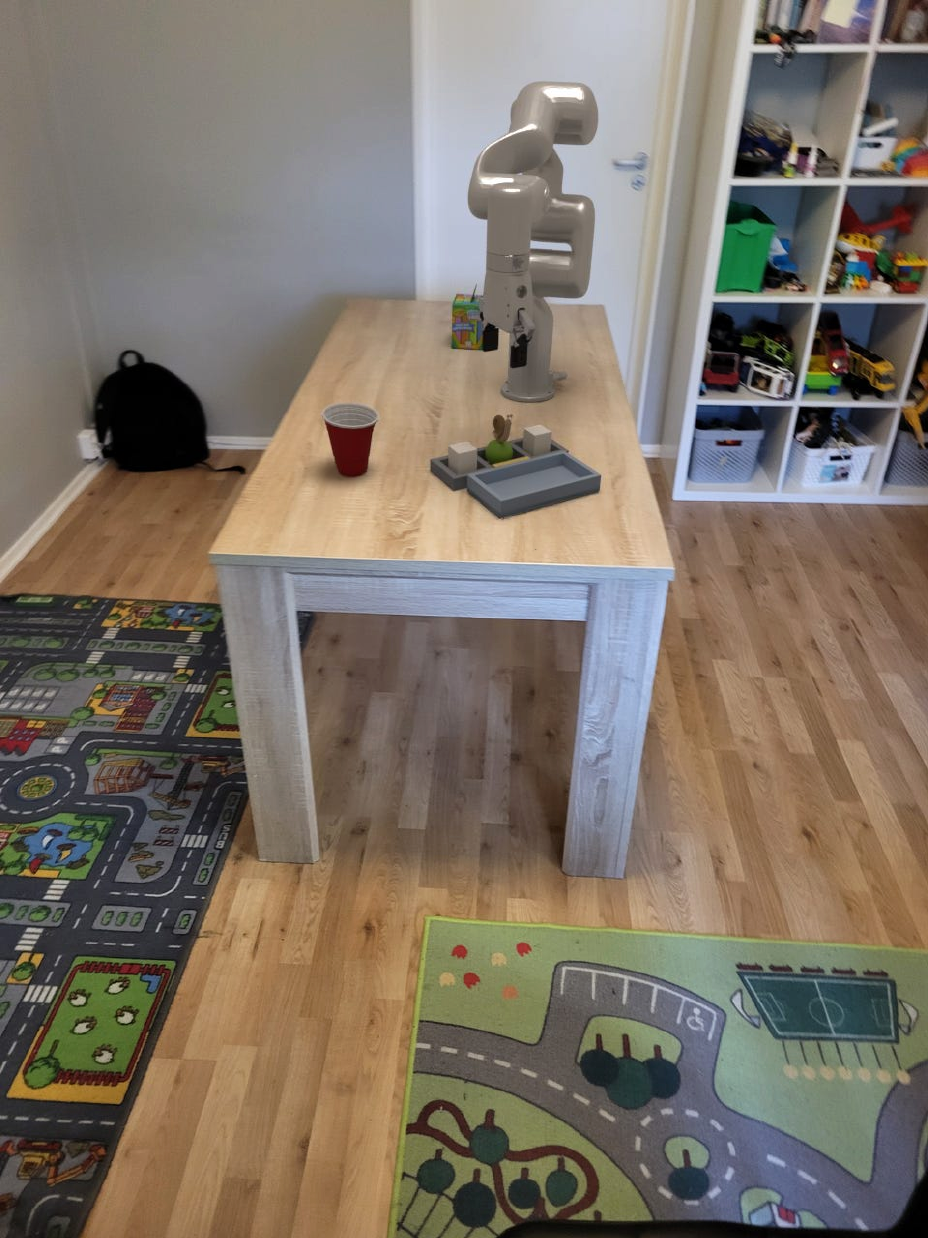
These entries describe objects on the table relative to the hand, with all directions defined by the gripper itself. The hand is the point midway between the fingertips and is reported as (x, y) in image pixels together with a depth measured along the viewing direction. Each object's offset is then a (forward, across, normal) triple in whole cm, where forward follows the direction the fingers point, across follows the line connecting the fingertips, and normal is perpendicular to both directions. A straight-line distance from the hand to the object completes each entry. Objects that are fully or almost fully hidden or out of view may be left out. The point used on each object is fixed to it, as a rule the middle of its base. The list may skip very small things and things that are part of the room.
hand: (503, 358), depth 171 cm
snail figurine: (+22, 0, 0) cm, 22 cm away
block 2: (+22, 0, -9) cm, 23 cm away
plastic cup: (+22, +12, +26) cm, 36 cm away
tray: (+22, -12, 0) cm, 25 cm away
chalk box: (+22, +65, -31) cm, 75 cm away
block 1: (+22, 0, +8) cm, 23 cm away
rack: (+22, 0, 0) cm, 22 cm away
